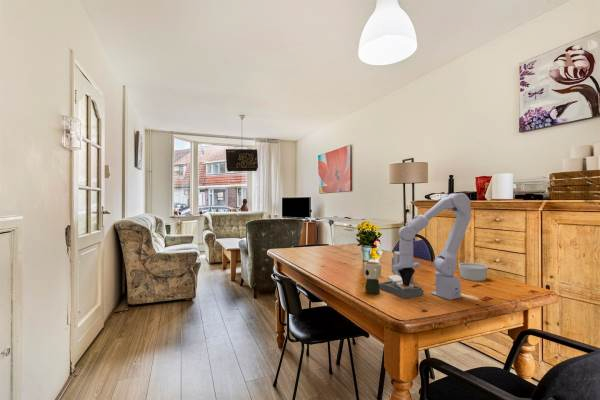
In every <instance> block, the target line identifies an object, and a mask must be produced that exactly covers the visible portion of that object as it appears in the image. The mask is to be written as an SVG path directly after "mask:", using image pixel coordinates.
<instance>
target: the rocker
mask: <svg viewBox="0 0 600 400" xmlns="http://www.w3.org/2000/svg"><path fill="white" fill-rule="evenodd" d="M386 279H388V280H389V281H392V282H393V283H394V284H395V285H397V286H398V287H400V288H401V289H402V290H406V289H412V288H413V287H414V286H413V285H414V284H413V285H411V284H409V286H405V285H404V284H403V281H402V278H401V277H400V276H399V275H394V274H393V275H388V276H387V277H386Z"/></svg>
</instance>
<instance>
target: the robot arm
mask: <svg viewBox="0 0 600 400" xmlns="http://www.w3.org/2000/svg"><path fill="white" fill-rule="evenodd" d="M471 203H472V201H471V199H470V198H469V197H468V195H467V194H466V193H464V192H457V193H453V192H452V193H449V194H447V195H446V196H444V197H442V198H441V199H440V200H439V201H437V203H436V204H434V205H433V206H432V207H431V208H430V209H428V210H427V211H426V212H425V213H424V214H416V215H414V216H413V219H411V220H410V221H409V222H406V223H405V224H404V225H405V226H401V227H400V228H399V230H398V231H397V235H398V237H399V243H398V244H399V245H398V246H399V250H398V251H399V263H398V264H396V265H392V264H391V271H392V270H395V271H397V270H398V271H399V273H400V275H401V278H402V281H403V284H404V285H405V286H409V284H410V281H411V278H412V275H413V276H414V273H415V272H416V269H415V268H421V264H420V262H417V261H415V262H414V239H415V237H416V235H417V234H418V233H420V232H421V231H422V230H423V229H425V228H426V227H428V226H429V221H430V220H432V219H433V218H435V217H436V216H437V215H438V214H441V212H443V211H445V210H449V209H451V210H452V211H453V214H454V215H455V216H456V217H455V219H454V222H453V224H452V227H451V230H450V232H449V234H448V236H447V239H446V242H445V244H444V247H443V249H442V250H441V251H440V252H439V254H438V256H437V257H436V258H434V260H433V263H432V264H433V267H434V268H435V272H434V276H435V277H434V278H435V279H434V281H435V282H434V285H435V286H434V287H435V288H434V289H435V291H430V294H432V295H435V296H438V297H441V298H443V299H446V300H454V299H459V298H462V297H463V295H462V294H461V293H462V291H461V290H462V289H461V288H462V287H461V286H462V282H461V279H460V278H459V277H456V276H455V273H456V270H457V262H458V259H457V254H458V251H459V248H460V246H461V243H462V241H463V238H464V237H465V234H466V231H467V229H468V226H469V224H470V221H471V218H472V209H471ZM412 268H413V269H412Z"/></svg>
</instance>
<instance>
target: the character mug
mask: <svg viewBox="0 0 600 400" xmlns="http://www.w3.org/2000/svg"><path fill="white" fill-rule="evenodd" d="M363 264H364V265H363V266H364V267H363V270H364V271H363V276H364V278H365V279H366V281H365V282H366V283H365V288H364V291H365V292H366V293H367V294H378V293H380V292H381V289H380V287H379V284H380V282H379V279H381V277H382V271H381V268H382V264H381V262H377V261H365V262H364V263H363Z"/></svg>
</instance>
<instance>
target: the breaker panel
mask: <svg viewBox="0 0 600 400" xmlns="http://www.w3.org/2000/svg"><path fill="white" fill-rule="evenodd" d="M413 286H414V287H413V288H412V289H406V290H402V289H401V288H400V287H398V286H397V285H395V284H394V283H393V282H392V281H390V280H389V281H383V282H379V287H380V291H384V292H387V293H389V294H392V295H395V296H398V297H401V298H402V299H410V298H414V297H415V298H416V297H418V296H419V297H420V296H423V295H425V294H424V293H425V292H424V290H425V289H423V287H420V286H418V285H414V284H413Z"/></svg>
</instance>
